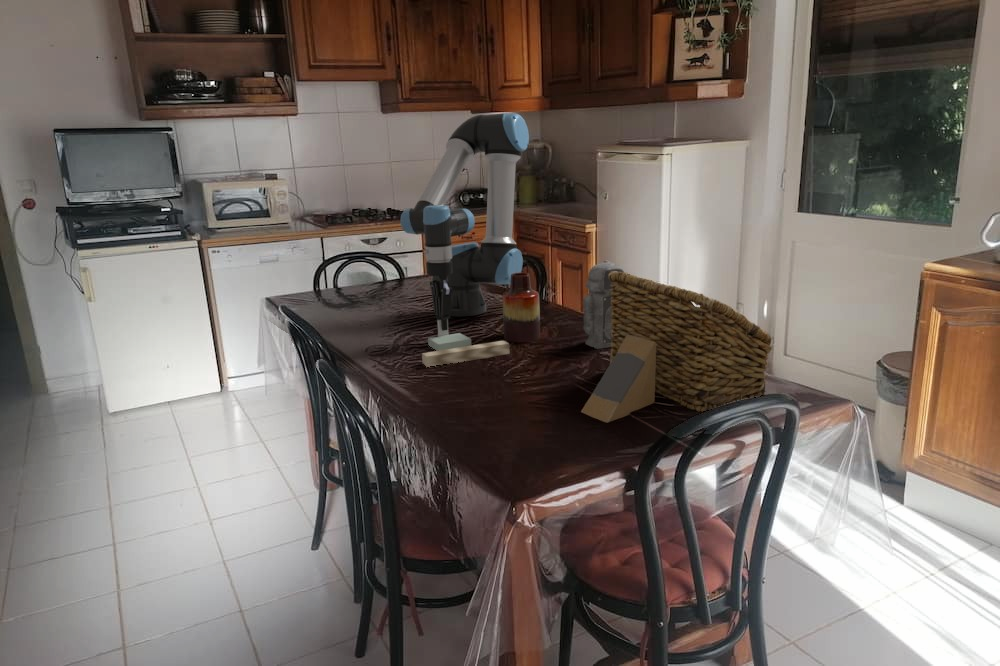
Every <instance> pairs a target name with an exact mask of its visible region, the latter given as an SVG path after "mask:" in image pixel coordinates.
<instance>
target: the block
mask: <svg viewBox="0 0 1000 666" xmlns="http://www.w3.org/2000/svg"><path fill="white" fill-rule="evenodd" d="M427 343H428V345H429V346H430V347H432V348H433V349H435V350H436V351H440V350H446V349H453V348H459V347H465V346H472V338H470V337H469V336H466V335H464V334H462V333H461V332H458V333H452V334H450V333H449V335H444V336H438V335H437V336H433V337H428V338H427ZM429 346H428V347H429ZM430 347H429V348H430ZM432 348H431V349H432ZM433 349H432V350H433ZM435 350H434V351H435Z"/></svg>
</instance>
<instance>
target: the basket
mask: <svg viewBox="0 0 1000 666" xmlns="http://www.w3.org/2000/svg"><path fill="white" fill-rule="evenodd" d="M608 279H609V281H612V282H611V287H612V289H611V290H610V292H611V295H612V297H611V305H612V306H611V307H612V315H611V318H612V319H611V322H612V323H611V326H612V328H611V332H612V333H611V335H612V336H611V339H612V342H611V347H610V348H611V349H610V357H609V365H610V364H611V362H612V360H613V359H614V357H615V355H616V353H617V352H618V350H619V348H620V346H621V344H622V343H623V341H624V339H625V337H626V336H627V335H632V336H636V337H640V338H644V339H647V340H651V341H654V342H656V372H655V393H657V394H659V395H662V396H663V397H664V398H667V399H668V398H669V399H670V400H673V401H674V402H677V403H679V404H680V405H682V406H684V407H686V408H687V409H690V410H693V411H696V412H699V413H700V412H701V413H704V412H703V411H706V412H707V411H708V409H711V408H715V407H718V406H721V405H724V404H727V403H730V402H733V401H737V400H741V399H745V398H750V397H755V396H761V395H763V396H764V395H765V393H766V392H767V391H766V380H765V379H766V377H767V376H766V373H765V372H766V371H767V365H768V362H767V360H769V353H771V351H772V349H773V346H772V345H771V343H772V337H771V335H770V334H769V333H768V332H767V331H766V330H764V329H763V328H762V327H760V326H759V325H756V324H755V322H752V321H750V320H749V319H748V318H747V317H746V316H745V315H744V314H743V313H739V312H737V311H736V310H734V308H732V307H731V306H730V305H728V304H726V303H724V302H721V301H720V300H718V299H714V298H711V297H708V296H705V295H704V294H703V293H698V292H696V291H692V290H690V289H689V290H687V289H686V288H681V287H678V286H673V285H670V284H669V285H667V284H664V283H661V282H656V281H654V280H652V279H651V280H650V279H648V278H643V277H638V276H636V275H634V274H631V273H628V272H625V271H624V272H617V271H612V272H610V273H609V274H608Z"/></svg>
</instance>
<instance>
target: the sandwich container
mask: <svg viewBox="0 0 1000 666" xmlns="http://www.w3.org/2000/svg"><path fill="white" fill-rule="evenodd" d="M655 372H656V342H654V341H651V340H647V339H644V338H640V337H636V336H632V335H627V336H626V337H625V339H624V341H623V343H622V344H621V346H620V348H619V350H618V352H617V353H616V355H615V357H614V359H613V360H612V362H611V364H610V363H609V365H608V367H607V369H606V370H605V372H604V374H603V375H602V376H601V378H600V381H599V382H598V383H597V384H596V387H595V388H594V390H593V391H592V393H591V395H590V397H589V398H588V400H587V401H586V402H585V404H584V406H583V408H582V409H581V411H580V413H583V414H585V415H587V416H589V417H591V418H593V419H597V420H599V421H601V422H604V423H610V422H613V421H615V420H619V419H621V418H624V417H627V416H629V415H631V413H633V412H634V411H638V410H640V409H644V408H646V407H648V406H650V405H652V404H655V394H656V392H655Z"/></svg>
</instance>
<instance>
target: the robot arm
mask: <svg viewBox="0 0 1000 666" xmlns="http://www.w3.org/2000/svg"><path fill="white" fill-rule="evenodd" d="M529 133H530V132H529V128H528V126H527V122H526V121H525V119H524V118H523V117H522V116H521V115H520V114H519V113H514V112H513V113H511V112H510V113H508V112H504V113H491V114H477V115H474V116H473V115H472V116H471V117H470V118H468V119H466V120H465V121H463V122H462V123H461V124H460V125H458V127H457V128H456V129H455V130H454V131H453V132H452V134H451V135H450V137H449V138H448V141H447V142H446V144H445V149H446V150H445V152H444V154H443V156H442V157H441V159H440V161H439V163H438V164H437V166H436V168H435V170H434V172H433V174H432V175H431V176H430V179H429V181H428V183H427V184H426V187H425V188H424V189H423V191H422V192H421V195H420V196H419V198H418V200H417V203H416V204H415V206H414V207H413V208H406V209H405V210H403V211H402V212H401V215H400V227H401V228H402V230H403V232H404V233H406V234H410V235H418V236H419V235H424V241H425V243H424V246H425V249H424V250H423V253H424V254H425V260H426V263H425V267H426V274H427V276H431V277H432V280H431V281H429V286H430V290H431V298H432V305H433V314H434V315H435V317H436V320H437V321H436V323H437V337H438V336H444V335H450V333H449V319H450V318H451V317H459V318H461V317H473V316H478V315H482V314H484V313H486V312H487V303H486V301H485V298H484V295H483V293H482V290H481V284H489V285H490V284H491V285H492V284H493V285H499V286H502V285H510V284H511V274H513V273H522V269H523V263H524V259H523V256H522V255H523V253H522V252H521V250H520V249H518V248H517V242H516V241H515V240H514V238H513V229H514V228H513V227H514V210H515V209H514V205H515V186H516V185H515V184H516V182H515V181H516V164H517V162H518V161H519V160H520V159H521V158H522V157H521V156H522V152H524V151H526V150H527V149H528V146H529V142H530V134H529ZM479 153H484V157H485V159H486V160H487V161H488V180H487V203H486V204H487V205H486V221H485V222H486V225H485V236H484V238H483V239H482V240H481V241H480V245H479V243H478V242H466V243H459V244H453V245H452V237H457V236H464V235H466V234H468V233H470V232H471V231H473V229H474V227H475V223H476V221H475V220H476V219H475V216H474V214H473V212H471V211H470V209H468V208H459V207H457V208H455V209H450V207H449V206H448V205H446V202H447V200H448V198H449V197H450V195H451V193H452V191H453V190H454V187H455V185H456V183H457V181H458V180H459V178H460V176H461V174H462V172H463V171H464V168H465V167H466V165H467V164H468V163H469V162H470V161H472V160H473V159H474V157H475V155H477V154H479Z"/></svg>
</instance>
